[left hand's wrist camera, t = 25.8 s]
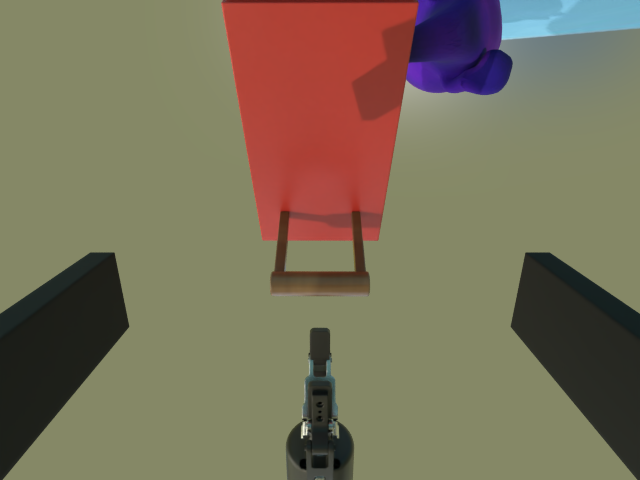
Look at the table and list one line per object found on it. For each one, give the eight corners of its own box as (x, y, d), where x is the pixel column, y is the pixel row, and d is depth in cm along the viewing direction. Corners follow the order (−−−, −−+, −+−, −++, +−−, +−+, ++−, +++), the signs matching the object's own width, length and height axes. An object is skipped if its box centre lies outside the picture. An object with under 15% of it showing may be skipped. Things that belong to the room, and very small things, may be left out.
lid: (377, 233, 34) (388, 318, 28) (263, 233, 34) (252, 318, 28) (416, -4, 20) (452, 73, 14) (223, -4, 20) (186, 73, 14)
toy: (541, -94, 34) (482, -37, 58) (346, -23, 39) (366, 2, 63) (547, 92, 40) (491, 74, 64) (378, 133, 45) (386, 102, 69)
